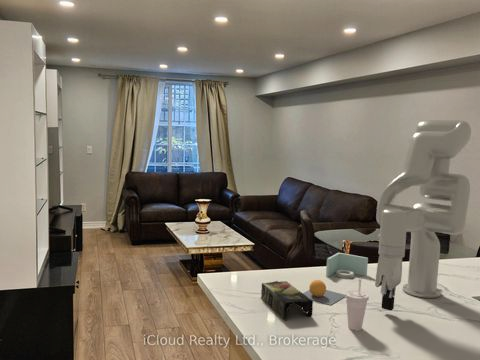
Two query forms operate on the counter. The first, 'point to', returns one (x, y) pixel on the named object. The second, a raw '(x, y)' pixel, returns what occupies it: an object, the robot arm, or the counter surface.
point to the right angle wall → (346, 265)
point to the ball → (317, 288)
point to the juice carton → (285, 298)
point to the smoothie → (356, 308)
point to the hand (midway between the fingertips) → (387, 308)
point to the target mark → (325, 297)
